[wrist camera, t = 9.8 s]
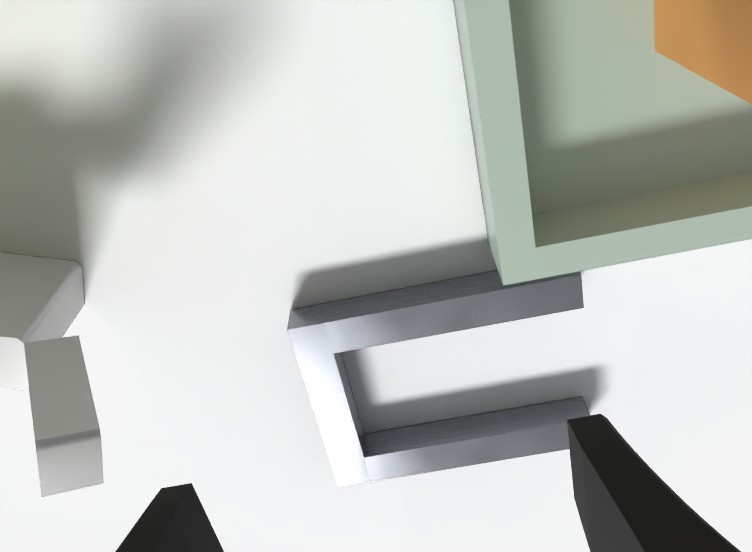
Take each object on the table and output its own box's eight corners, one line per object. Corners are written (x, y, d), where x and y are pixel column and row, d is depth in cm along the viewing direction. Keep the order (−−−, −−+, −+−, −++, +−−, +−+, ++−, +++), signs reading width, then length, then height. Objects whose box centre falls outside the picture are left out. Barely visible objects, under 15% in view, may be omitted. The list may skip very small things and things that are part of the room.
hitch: (570, 256, 22) (581, 274, 21) (584, 421, 25) (593, 444, 24) (290, 309, 23) (287, 329, 22) (339, 463, 26) (338, 487, 25)
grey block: (-47, 293, 22) (-233, 477, 15) (-55, 245, 21) (-256, 417, 14) (176, 318, 23) (95, 507, 16) (177, 273, 22) (92, 451, 15)
